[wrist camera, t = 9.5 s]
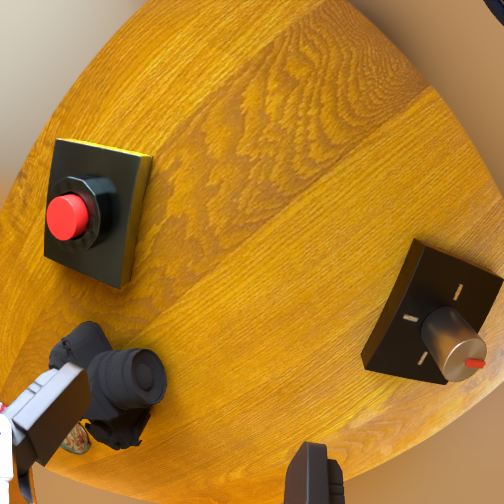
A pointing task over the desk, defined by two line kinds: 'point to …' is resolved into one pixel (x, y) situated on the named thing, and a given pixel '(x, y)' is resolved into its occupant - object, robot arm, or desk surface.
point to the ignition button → (67, 216)
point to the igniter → (99, 207)
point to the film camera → (113, 384)
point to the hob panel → (427, 310)
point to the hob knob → (453, 344)
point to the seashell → (76, 441)
